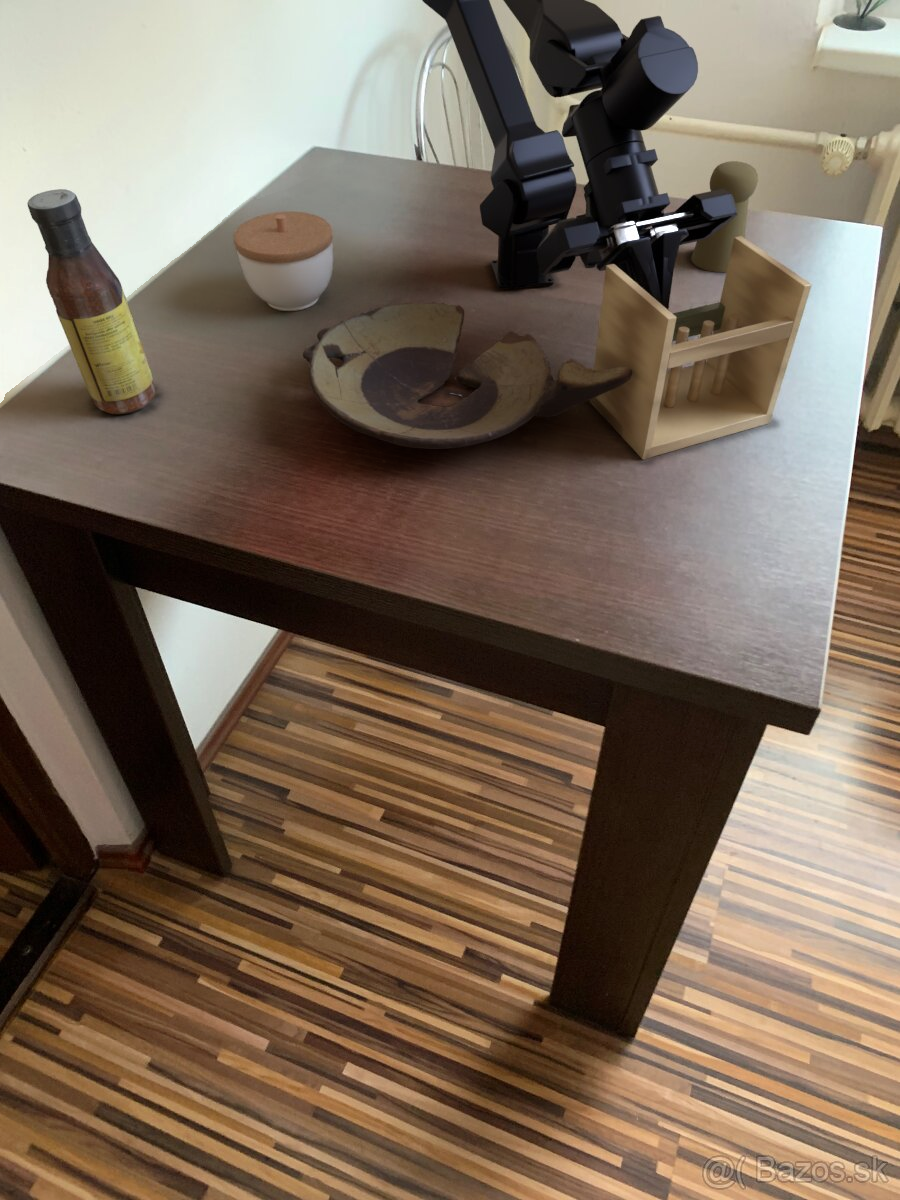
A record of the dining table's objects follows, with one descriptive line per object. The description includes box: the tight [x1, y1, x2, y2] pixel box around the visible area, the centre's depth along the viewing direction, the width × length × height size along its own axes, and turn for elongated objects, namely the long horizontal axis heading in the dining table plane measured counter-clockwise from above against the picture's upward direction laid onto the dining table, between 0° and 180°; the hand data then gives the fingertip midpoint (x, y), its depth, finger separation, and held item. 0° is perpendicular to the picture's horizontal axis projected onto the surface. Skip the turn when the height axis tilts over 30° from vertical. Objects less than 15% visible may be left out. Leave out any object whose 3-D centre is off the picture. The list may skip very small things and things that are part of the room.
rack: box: [589, 236, 812, 460], centre depth 80 cm, size 10×14×14 cm
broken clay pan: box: [302, 301, 632, 450], centre depth 83 cm, size 22×30×8 cm
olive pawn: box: [691, 160, 759, 273], centre depth 103 cm, size 6×6×11 cm
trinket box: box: [233, 211, 334, 312], centre depth 98 cm, size 11×11×9 cm
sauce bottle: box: [27, 188, 156, 415], centre depth 81 cm, size 7×6×20 cm
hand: (661, 320), depth 84 cm, fingers closed, pressing on rack
